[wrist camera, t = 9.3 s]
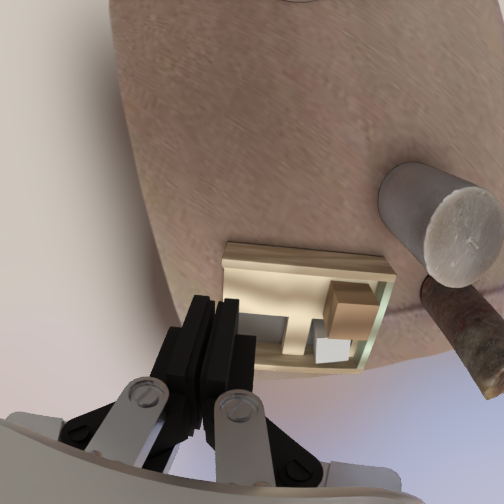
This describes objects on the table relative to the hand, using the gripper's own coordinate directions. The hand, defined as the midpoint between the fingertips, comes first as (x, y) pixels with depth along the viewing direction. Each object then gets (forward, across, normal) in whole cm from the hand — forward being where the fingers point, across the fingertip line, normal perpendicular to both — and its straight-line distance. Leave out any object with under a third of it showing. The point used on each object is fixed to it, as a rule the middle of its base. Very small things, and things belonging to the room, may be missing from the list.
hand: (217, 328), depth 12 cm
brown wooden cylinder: (+26, -28, +13) cm, 40 cm away
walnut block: (+23, -13, +14) cm, 30 cm away
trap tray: (+26, -7, +16) cm, 31 cm away
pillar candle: (+26, -20, 0) cm, 33 cm away
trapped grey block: (+25, -12, +20) cm, 34 cm away
